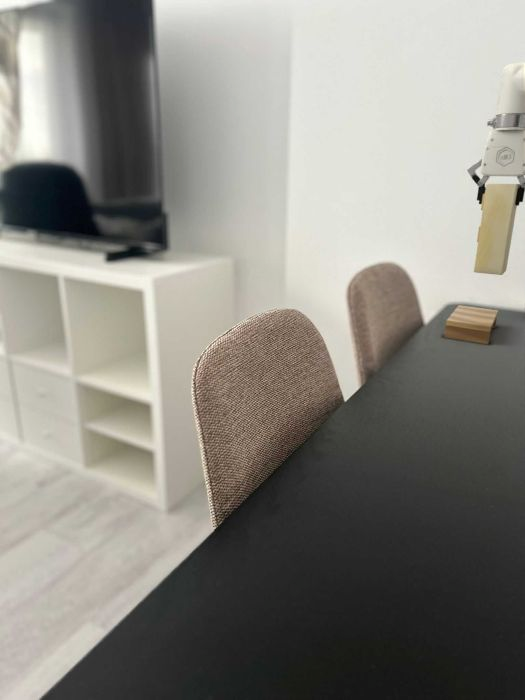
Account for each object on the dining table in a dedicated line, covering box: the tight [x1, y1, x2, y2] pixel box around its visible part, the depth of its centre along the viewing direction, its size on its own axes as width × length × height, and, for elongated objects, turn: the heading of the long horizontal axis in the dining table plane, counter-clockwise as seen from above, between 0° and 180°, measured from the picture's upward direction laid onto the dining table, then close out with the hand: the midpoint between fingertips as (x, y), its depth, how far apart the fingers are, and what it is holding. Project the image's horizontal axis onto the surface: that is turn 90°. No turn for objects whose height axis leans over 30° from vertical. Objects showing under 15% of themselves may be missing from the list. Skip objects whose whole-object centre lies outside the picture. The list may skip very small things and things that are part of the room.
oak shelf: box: [443, 304, 499, 345], centre depth 117 cm, size 16×9×4 cm, turn 151°
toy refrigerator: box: [473, 182, 520, 276], centre depth 125 cm, size 8×7×21 cm
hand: (498, 204), depth 123 cm, fingers closed on toy refrigerator, 7 cm apart
